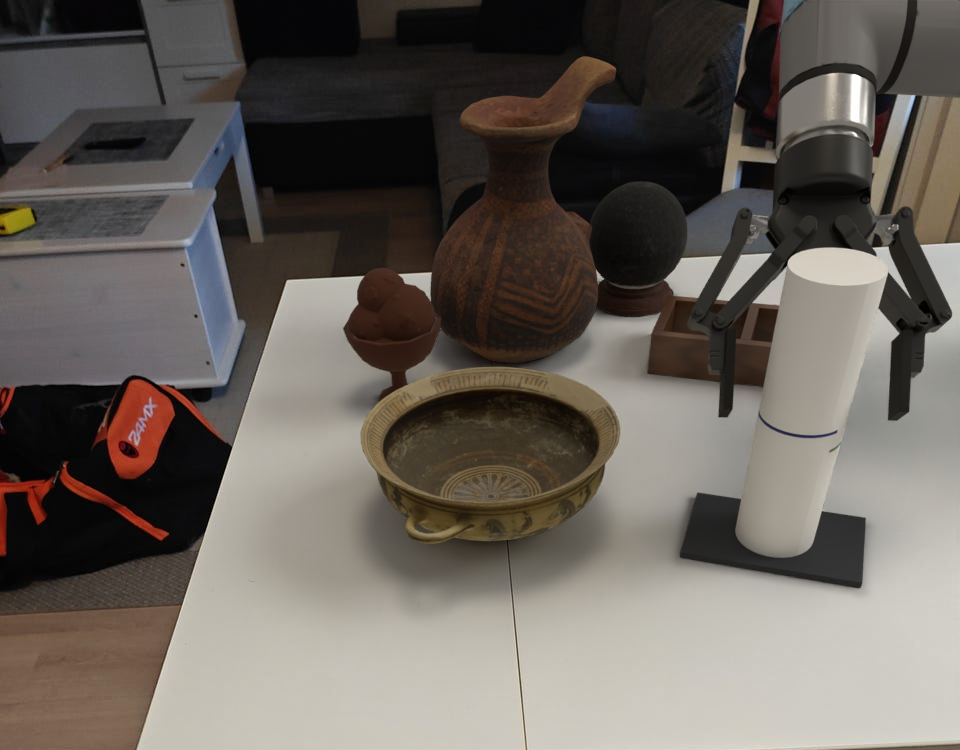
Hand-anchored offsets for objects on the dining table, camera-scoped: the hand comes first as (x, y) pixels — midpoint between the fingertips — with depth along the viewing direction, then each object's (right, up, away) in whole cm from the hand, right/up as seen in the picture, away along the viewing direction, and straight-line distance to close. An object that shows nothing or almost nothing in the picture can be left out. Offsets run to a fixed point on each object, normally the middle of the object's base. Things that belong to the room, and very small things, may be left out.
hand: (810, 415), depth 71 cm
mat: (+1, -9, +12) cm, 15 cm away
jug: (-22, +21, +44) cm, 53 cm away
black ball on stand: (-6, +29, +51) cm, 59 cm away
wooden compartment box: (+6, +16, +37) cm, 41 cm away
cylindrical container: (+1, -8, +11) cm, 14 cm away
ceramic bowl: (-26, -6, +17) cm, 31 cm away
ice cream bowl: (-36, +11, +34) cm, 51 cm away
